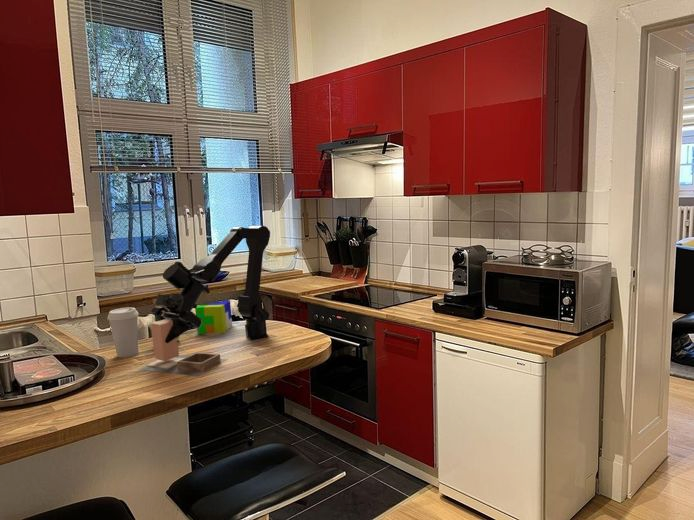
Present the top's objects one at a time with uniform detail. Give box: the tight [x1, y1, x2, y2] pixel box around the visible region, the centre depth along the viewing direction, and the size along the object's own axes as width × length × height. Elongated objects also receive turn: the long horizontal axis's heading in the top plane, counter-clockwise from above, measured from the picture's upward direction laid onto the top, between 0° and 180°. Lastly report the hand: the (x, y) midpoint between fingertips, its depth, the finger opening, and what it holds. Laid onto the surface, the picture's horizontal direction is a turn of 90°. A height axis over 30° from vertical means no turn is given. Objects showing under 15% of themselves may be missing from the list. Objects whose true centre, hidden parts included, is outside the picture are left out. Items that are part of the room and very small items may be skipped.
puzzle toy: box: [194, 300, 233, 335], centre depth 194 cm, size 10×10×10 cm
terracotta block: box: [150, 319, 180, 361], centre depth 153 cm, size 5×5×11 cm
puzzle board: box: [137, 351, 228, 377], centre depth 152 cm, size 22×14×4 cm, turn 68°
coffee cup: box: [107, 307, 140, 359], centre depth 168 cm, size 10×10×15 cm
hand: (160, 341), depth 152 cm, fingers closed on terracotta block, 5 cm apart
